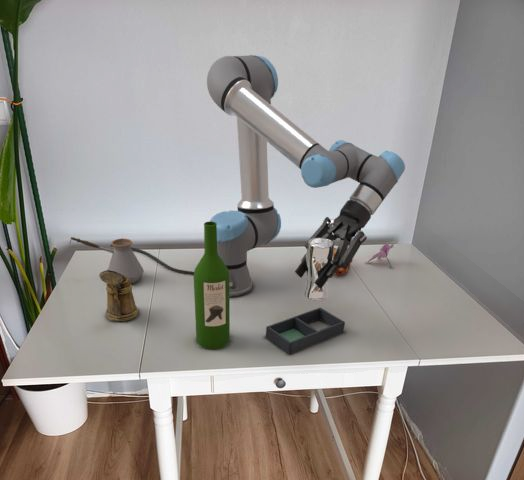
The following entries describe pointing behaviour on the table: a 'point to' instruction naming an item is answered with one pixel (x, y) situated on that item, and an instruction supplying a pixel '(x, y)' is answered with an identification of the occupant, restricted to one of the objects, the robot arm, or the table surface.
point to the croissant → (341, 270)
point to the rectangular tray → (303, 330)
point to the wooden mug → (119, 297)
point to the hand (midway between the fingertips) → (307, 280)
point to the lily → (383, 252)
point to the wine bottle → (211, 294)
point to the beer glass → (317, 266)
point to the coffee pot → (121, 258)
